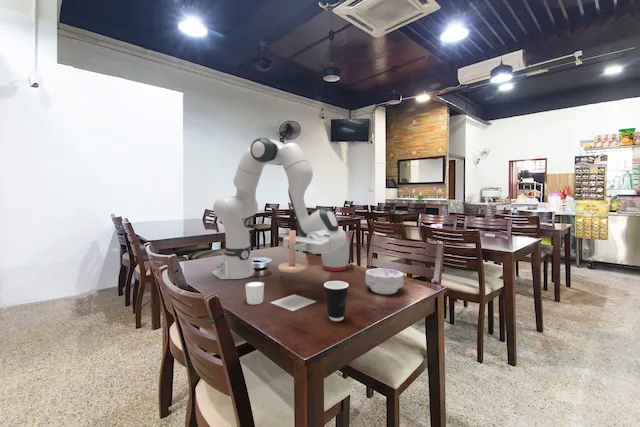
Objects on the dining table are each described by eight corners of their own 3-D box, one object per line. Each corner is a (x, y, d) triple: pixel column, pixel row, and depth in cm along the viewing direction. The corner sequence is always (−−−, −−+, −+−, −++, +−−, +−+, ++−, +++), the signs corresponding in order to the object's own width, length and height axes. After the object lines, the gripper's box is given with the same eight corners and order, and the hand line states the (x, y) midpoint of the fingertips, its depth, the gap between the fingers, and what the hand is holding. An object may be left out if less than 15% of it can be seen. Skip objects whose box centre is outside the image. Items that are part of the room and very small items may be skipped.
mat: (270, 303, 109) (270, 302, 109) (294, 295, 118) (294, 294, 118) (292, 312, 101) (292, 311, 101) (316, 302, 110) (316, 301, 110)
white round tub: (260, 306, 106) (259, 287, 105) (242, 305, 107) (241, 286, 107) (267, 300, 112) (267, 281, 112) (250, 298, 114) (250, 280, 113)
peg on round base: (272, 268, 108) (272, 230, 107) (292, 264, 116) (293, 228, 115) (291, 274, 101) (291, 233, 100) (311, 268, 109) (311, 230, 108)
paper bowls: (403, 287, 128) (403, 268, 127) (402, 298, 113) (403, 278, 113) (367, 284, 132) (368, 266, 131) (362, 295, 117) (362, 275, 117)
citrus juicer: (356, 267, 162) (357, 230, 161) (339, 274, 148) (339, 234, 147) (333, 263, 171) (333, 229, 170) (314, 269, 157) (314, 232, 156)
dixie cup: (325, 312, 100) (325, 280, 100) (349, 313, 99) (349, 281, 98) (322, 322, 92) (322, 287, 92) (347, 323, 91) (347, 288, 91)
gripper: (298, 231, 124) (272, 235, 114) (336, 237, 111) (310, 241, 100) (298, 246, 125) (272, 251, 114) (336, 254, 111) (310, 260, 101)
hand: (290, 247), depth 107 cm, fingers closed on peg on round base, 2 cm apart
